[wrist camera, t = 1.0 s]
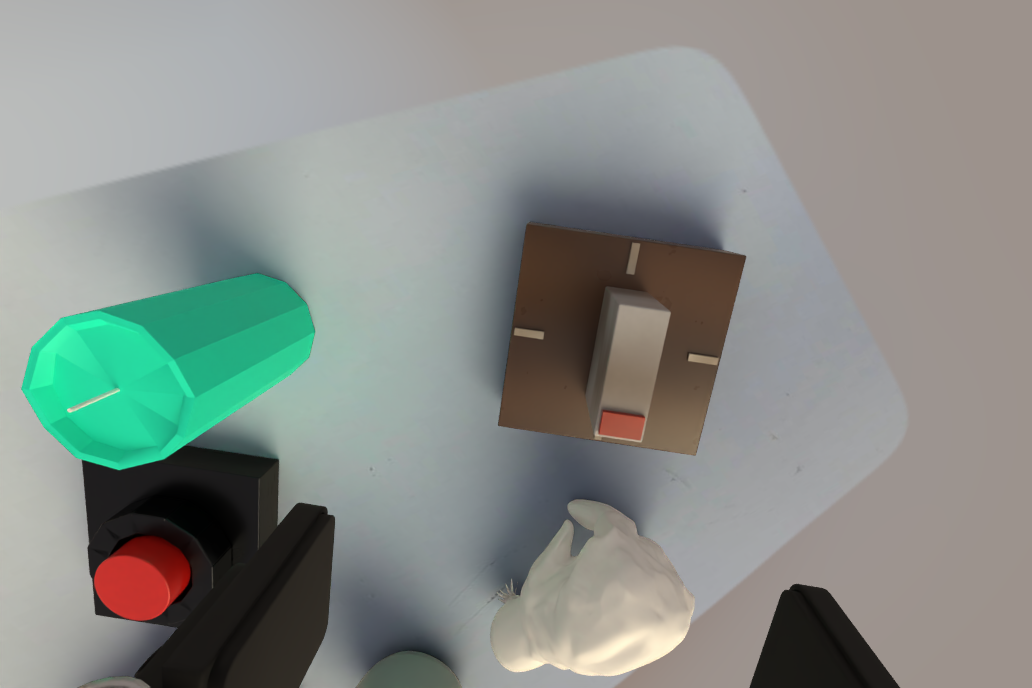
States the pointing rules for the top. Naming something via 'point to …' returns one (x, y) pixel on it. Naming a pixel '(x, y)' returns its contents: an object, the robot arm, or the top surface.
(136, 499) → the switch box
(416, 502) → the top surface
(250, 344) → the candle
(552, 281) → the panel
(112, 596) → the light button
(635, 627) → the white figurine
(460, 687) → the cup
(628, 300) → the dimmer knob
